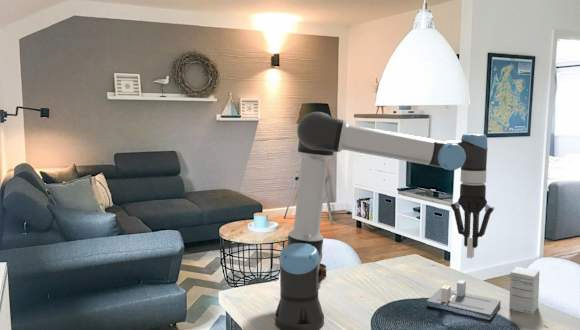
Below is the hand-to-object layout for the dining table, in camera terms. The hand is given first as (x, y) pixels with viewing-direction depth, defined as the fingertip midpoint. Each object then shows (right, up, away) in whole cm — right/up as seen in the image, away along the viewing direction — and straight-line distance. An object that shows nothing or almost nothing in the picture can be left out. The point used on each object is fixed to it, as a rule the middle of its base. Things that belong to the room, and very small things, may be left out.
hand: (470, 256), depth 153 cm
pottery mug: (-47, -16, +33) cm, 60 cm away
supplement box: (+19, -18, +5) cm, 27 cm away
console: (0, -18, +7) cm, 19 cm away
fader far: (+1, -15, +11) cm, 19 cm away
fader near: (-6, -16, +6) cm, 18 cm away
